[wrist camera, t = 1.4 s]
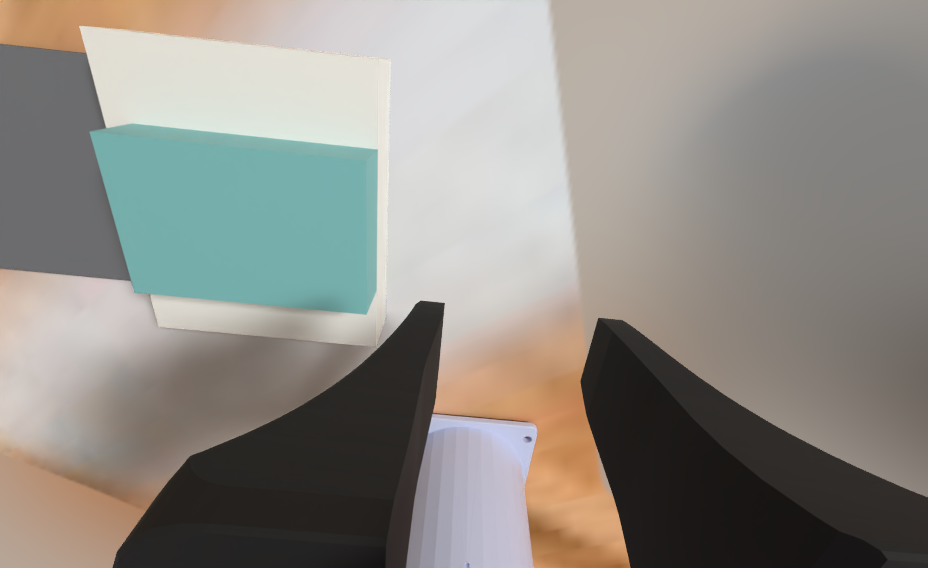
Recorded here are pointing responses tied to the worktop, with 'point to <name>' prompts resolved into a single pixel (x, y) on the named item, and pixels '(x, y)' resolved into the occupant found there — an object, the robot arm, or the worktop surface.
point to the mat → (53, 168)
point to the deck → (252, 114)
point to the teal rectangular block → (243, 216)
